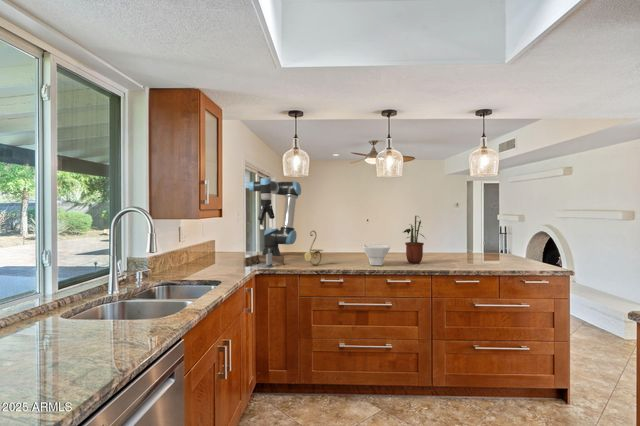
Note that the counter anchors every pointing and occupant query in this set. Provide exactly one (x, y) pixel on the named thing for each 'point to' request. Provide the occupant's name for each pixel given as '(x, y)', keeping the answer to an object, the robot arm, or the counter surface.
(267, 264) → the angle bracket
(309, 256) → the wall sconce
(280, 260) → the corner walls
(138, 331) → the counter surface
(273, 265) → the mat
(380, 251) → the bowl
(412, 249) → the potted plant
